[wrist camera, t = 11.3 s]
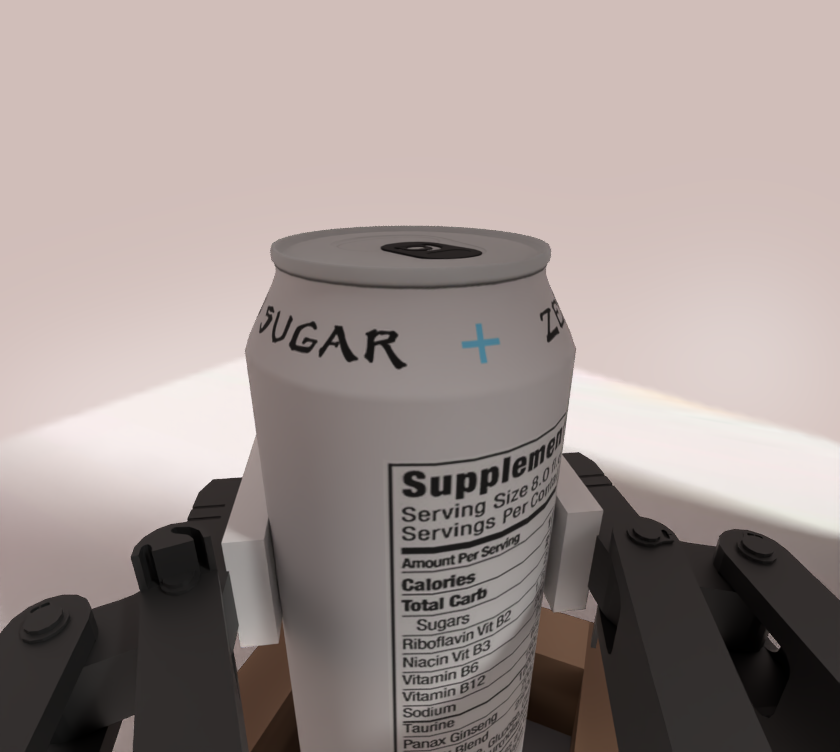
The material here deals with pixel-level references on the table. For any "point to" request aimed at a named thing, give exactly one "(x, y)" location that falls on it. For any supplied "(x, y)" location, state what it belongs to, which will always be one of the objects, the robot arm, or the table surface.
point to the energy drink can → (410, 478)
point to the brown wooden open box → (547, 708)
